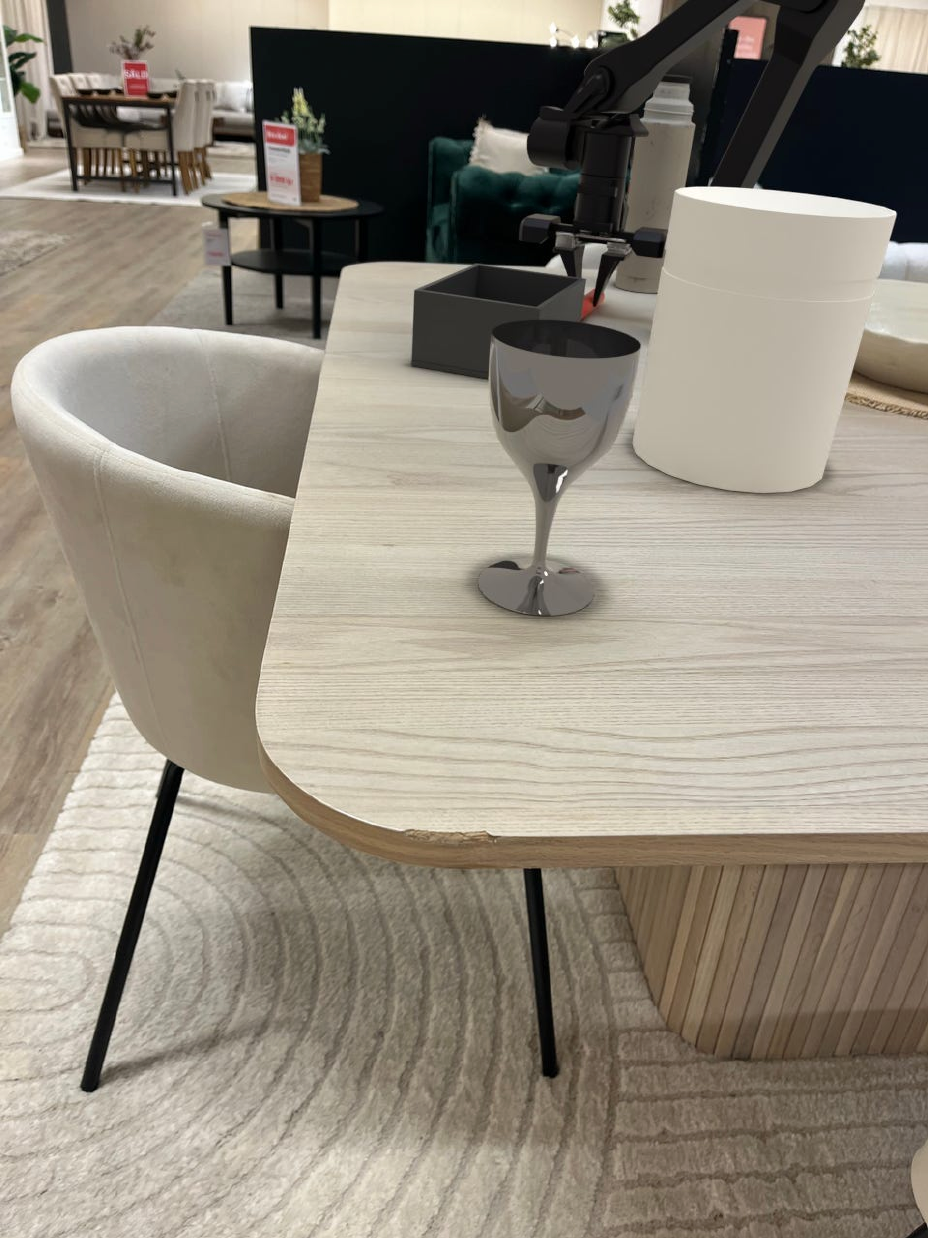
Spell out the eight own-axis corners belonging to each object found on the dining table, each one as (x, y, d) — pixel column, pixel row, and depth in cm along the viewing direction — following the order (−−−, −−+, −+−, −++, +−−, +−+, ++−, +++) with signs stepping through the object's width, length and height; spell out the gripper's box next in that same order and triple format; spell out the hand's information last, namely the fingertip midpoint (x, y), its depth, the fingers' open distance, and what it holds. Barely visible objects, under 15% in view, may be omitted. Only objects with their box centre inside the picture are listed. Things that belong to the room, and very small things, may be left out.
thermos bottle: (605, 286, 140) (634, 71, 125) (629, 279, 146) (660, 73, 131) (653, 295, 136) (689, 75, 122) (675, 288, 142) (712, 77, 127)
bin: (471, 329, 111) (475, 263, 107) (577, 346, 107) (586, 278, 103) (411, 365, 96) (413, 289, 92) (532, 386, 92) (540, 308, 89)
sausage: (589, 302, 129) (591, 285, 128) (605, 304, 128) (607, 288, 127) (562, 322, 117) (565, 304, 116) (579, 324, 117) (582, 307, 116)
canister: (800, 510, 70) (879, 224, 59) (603, 460, 76) (644, 194, 66) (840, 451, 82) (910, 206, 72) (667, 412, 88) (710, 182, 78)
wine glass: (466, 555, 59) (483, 316, 52) (587, 557, 60) (622, 322, 53) (478, 618, 53) (500, 354, 45) (614, 620, 54) (659, 361, 46)
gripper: (688, 178, 118) (666, 304, 126) (548, 163, 123) (536, 285, 131) (673, 185, 109) (651, 319, 117) (523, 169, 114) (512, 299, 122)
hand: (586, 305), depth 122 cm, fingers closed on sausage, 2 cm apart
